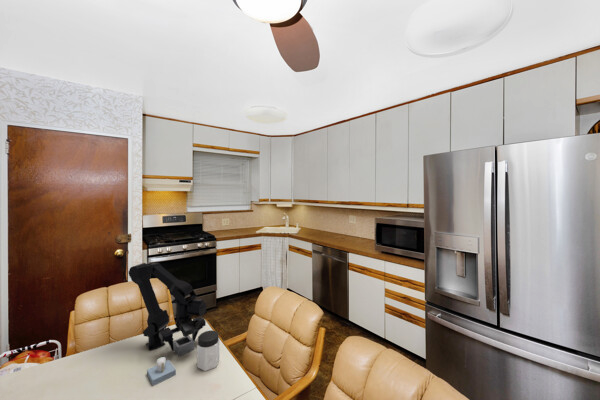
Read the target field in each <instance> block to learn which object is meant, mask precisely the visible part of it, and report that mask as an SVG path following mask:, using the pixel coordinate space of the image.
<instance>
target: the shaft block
mask: <svg viewBox="0 0 600 400" xmlns="http://www.w3.org/2000/svg"><path fill="white" fill-rule="evenodd" d="M176 373H177V372H176V368H175V367H174V365H173V364H172V362H171V360H169V359H166V357H165V356H163V357H159V358H158V359H157V360H156V365H155V366H152V367H150V368H148V369H146V375H147V378H148V379H149V381H150V383H151V385H152V386H155V385H158V384H159V383H162V382H163V381H165V380H168V379H170V378H172V377H174V376H176Z"/></svg>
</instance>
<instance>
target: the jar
mask: <svg viewBox="0 0 600 400" xmlns="http://www.w3.org/2000/svg"><path fill="white" fill-rule="evenodd" d="M219 337H220V333H219V332H218V331H216V330H206V331H203V332H202V333H200V334H199V335H198V337H197V345H196V351H197V352H196V356H197V357H196V366H197V368H198V369H200V370H202V371H205V372H207V371H209V370H212V369H214V368H217V366H218V363H219V362H220V338H219Z"/></svg>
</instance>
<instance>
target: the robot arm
mask: <svg viewBox="0 0 600 400" xmlns="http://www.w3.org/2000/svg"><path fill="white" fill-rule="evenodd" d="M128 276H129V278H130V279H131V281H132V282H133V283H135V284H136V285H137V286H138V289H139V291H140V295H141V297H142V300H143V303H144V305H145V308H146V311H147V313H148V315H147V319H146V323H147V326H146V328H145V329H144V330H143V331H142V333H143V336H144V337H147V338H148V341H147V342H146V343H145V345H146V347H147V349H148V351H151V350H152V351H153V350H155V349H158V348H160V347H162V346H165V345H166V343H168V344H169V347H170V350H171V352H174V351H173V350H174V347H173V341H174V338H173V337H174V334H176V333H180V332H181V334H182V335H183V336H182V337H186V336H188V335H189V336H190V335H192V336H191V338H192V339H193V340H194V343H195V341H196V340H197V339H196V338H197V336H198V334H199V331H200V330H202V329H203V328H204V327H205V326H206V325H207V324H206V322H207V321H206V319H205V318H203V317H202V316H204V314H205V313H206V311H207V303H206V302H205V301H204V299H203V298H198V295H197V293H196V291H195V290H194V289H193V286H192V285H191V284H190V283H189V282H187V281H185V280H181V279H178V278H177V277H175V276H174V275H173V273H171V272H170V271H169V270H167V269H165V267H163V266H162V264H161V263H160V262H153V263H146V262H143V263H139V264H136V265H133V266H131V267H129V270H128ZM151 276H153V277H155V278H156V279H157V280H159V282H161V283H162V284H163V285H165V286H166V287H167V288H168V290H169V291H170V294H171V295H172V297H174V299H173V300H172V301H171V303H172V304H176V305H175V310H176V311H175V318H176V319H175V320H176V321H175V327H174V328H172V329H171V328H170V327H169V326H168V325H169V322H170V316H169V313H168V310H167V309H165V310H164V309H162V308H161V307H160V304H159V302H158V299H157V296H156V293H155V290H154V288H153V284H152V282H151ZM188 296H189V297H188ZM192 315H193V316H197V317H195V318H193V319H192ZM167 326H168V327H167Z"/></svg>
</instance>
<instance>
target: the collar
mask: <svg viewBox="0 0 600 400" xmlns="http://www.w3.org/2000/svg"><path fill="white" fill-rule="evenodd" d="M173 347H174V350H173V351H172V352H173V353H175V356H177V357H178V358H179V357H181V356H183V355H186V354H188V353H190V352H192V351H194V350H195V342H194V340H193V339H192V336H190V335H188V336H186V337H184V336H182V337H178V338H176V339H173Z"/></svg>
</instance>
